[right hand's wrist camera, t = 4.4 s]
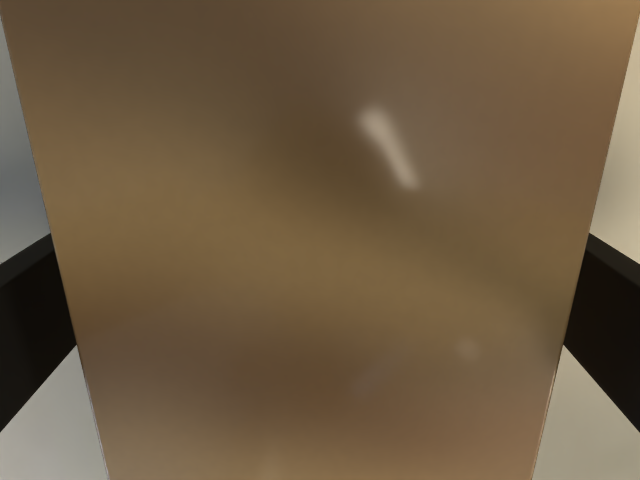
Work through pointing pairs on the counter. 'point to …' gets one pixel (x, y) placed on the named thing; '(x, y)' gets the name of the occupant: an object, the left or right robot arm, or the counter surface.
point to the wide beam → (319, 223)
